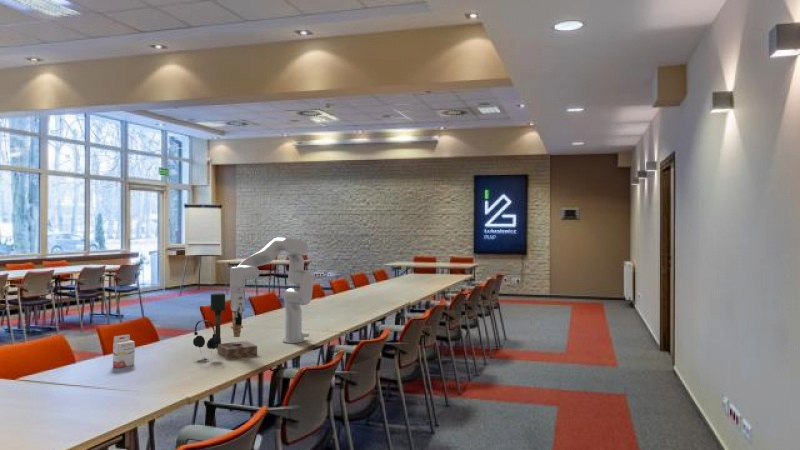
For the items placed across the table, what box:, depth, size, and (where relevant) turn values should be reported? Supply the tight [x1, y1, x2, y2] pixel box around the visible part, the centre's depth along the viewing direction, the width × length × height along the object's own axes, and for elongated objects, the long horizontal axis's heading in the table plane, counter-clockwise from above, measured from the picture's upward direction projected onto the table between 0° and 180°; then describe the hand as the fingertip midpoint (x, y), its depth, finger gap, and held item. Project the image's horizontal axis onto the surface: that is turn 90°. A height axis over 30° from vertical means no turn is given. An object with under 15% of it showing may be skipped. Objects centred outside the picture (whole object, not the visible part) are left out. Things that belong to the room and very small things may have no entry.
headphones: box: [192, 319, 219, 364], centre depth 291 cm, size 15×11×20 cm
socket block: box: [217, 340, 258, 360], centre depth 304 cm, size 16×16×5 cm
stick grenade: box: [209, 292, 227, 349], centre depth 322 cm, size 8×9×30 cm
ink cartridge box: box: [112, 334, 136, 369], centre depth 279 cm, size 9×5×15 cm, turn 145°
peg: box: [230, 312, 244, 338], centre depth 304 cm, size 6×6×13 cm
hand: (237, 323), depth 304 cm, fingers closed on peg, 4 cm apart
